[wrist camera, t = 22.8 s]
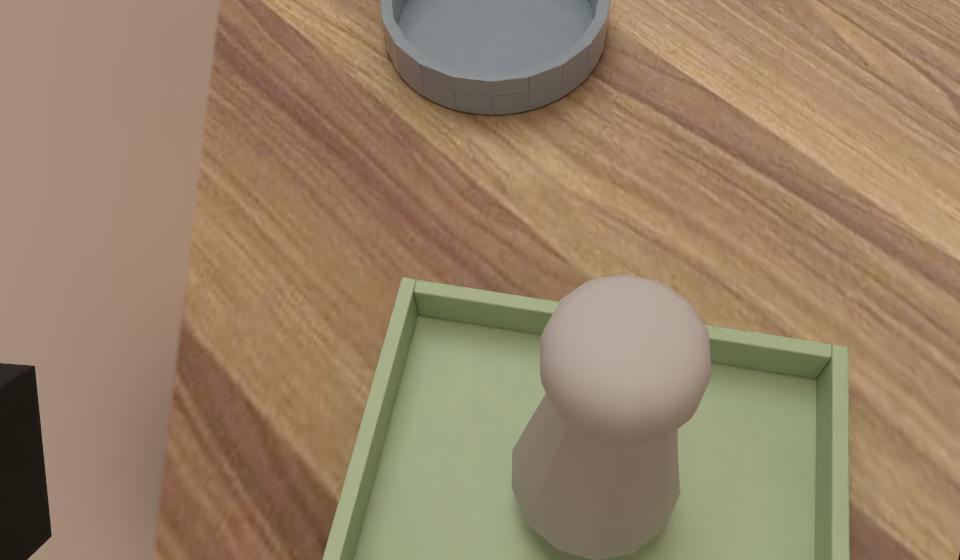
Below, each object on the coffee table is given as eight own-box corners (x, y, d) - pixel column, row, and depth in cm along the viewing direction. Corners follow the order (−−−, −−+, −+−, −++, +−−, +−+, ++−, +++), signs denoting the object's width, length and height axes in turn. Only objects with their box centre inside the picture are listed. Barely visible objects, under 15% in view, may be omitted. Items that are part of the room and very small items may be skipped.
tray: (319, 633, 31) (304, 621, 29) (408, 306, 37) (401, 276, 35) (826, 741, 29) (851, 737, 26) (828, 373, 35) (848, 346, 33)
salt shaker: (479, 499, 32) (458, 345, 21) (576, 390, 34) (604, 196, 23) (606, 609, 30) (657, 503, 19) (701, 486, 32) (798, 324, 21)
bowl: (361, 99, 43) (353, 64, 41) (415, -54, 49) (410, -91, 47) (589, 128, 42) (593, 94, 40) (618, -33, 47) (622, -71, 45)
